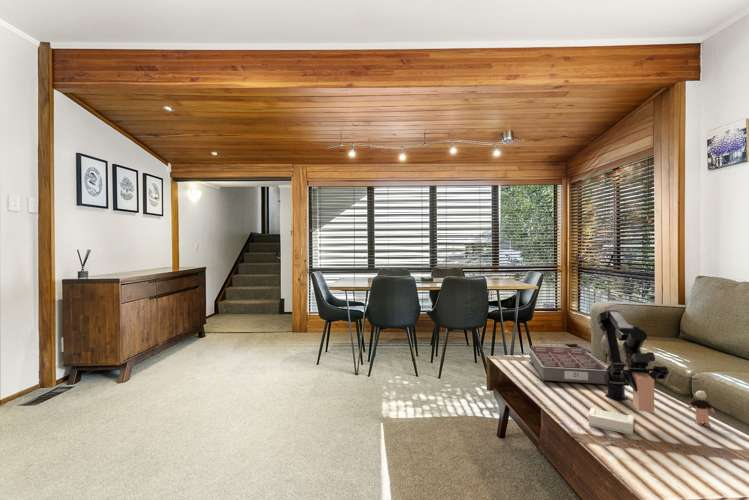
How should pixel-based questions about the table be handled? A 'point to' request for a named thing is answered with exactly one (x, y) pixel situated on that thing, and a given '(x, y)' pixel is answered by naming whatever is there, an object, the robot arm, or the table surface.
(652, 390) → the tall peach block
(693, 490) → the table surface
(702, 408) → the grandmother figurine
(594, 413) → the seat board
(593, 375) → the organizer tray
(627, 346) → the robot arm
